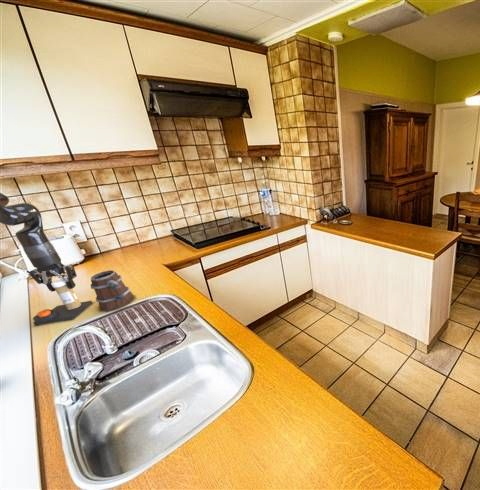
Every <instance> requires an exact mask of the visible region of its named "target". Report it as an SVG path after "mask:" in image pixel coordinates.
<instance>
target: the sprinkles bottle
mask: <svg viewBox="0 0 480 490" xmlns="http://www.w3.org/2000/svg"><path fill="white" fill-rule="evenodd" d="M65 282H66V281H64V280H63V279H62V278H58V279H56V280H54V281H52V283H51V285H52V287H53V288H54V289H55V290H56V291H55V292H56V295H58V297H59V299H60V300H61V302H62V303H63V305H65V306H66V308H67V310H72V309H75V308H78V307H79V306H80V305H81V303H80V302H81V301H80V300H79V298H78V296H77V295H76V293H75V292H74V290H73V289H69V288H68V286H67V284H66V283H65Z"/></svg>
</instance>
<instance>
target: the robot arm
mask: <svg viewBox="0 0 480 490" xmlns="http://www.w3.org/2000/svg"><path fill="white" fill-rule="evenodd" d="M9 203H10V198H9V197H8V196H7V195H5V194H4V193H3V192H0V224H2V225H5V226H9V227H14V226H18V225H22V224H23V228H21V229H19V230H18V231H16V232H15V234H14V235H15V237H16V239H17V241H18V243H19V244H20V245H21V247H22V250H23V252H24V254H25V255H26V257H27V258H28V260H29V262H30V264H31V265H32V266H33V268H34V269H31V270H29V271H28V274H29V275H30V277H31V278H32V279H33V280H34V281H35V283H37V284H38V285H41V284H43V285H45V286H46V287H47V290H49V291H50V292H51V293H53V292H56V290H55V289H54V288H53V287H52V285H51V283H52V282H53V277H57V278H58V279H63V280H64V281H66V282H65V283H66V284H67V286H68V288H69V289H72V290H73V289H74V288H75V287H76V283H75V281H74V279H75V278H76V277H78V274H77V272H76V269H75V266H74V264H69V265H65V264H63V263H62V259H61V257H60V255H59V253H58V252H57V250H56V248H55V246H54V245H53V244H52V242H51V241H50V240H49V238H48V236H47V235H46V233H45V230H44V225H43V218H42V214H41V211H40V210H39V208H38V207H37V206H35V205H33V204H31V203H29V202H20V203H16V204H10V205H9Z"/></svg>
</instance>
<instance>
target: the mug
mask: <svg viewBox="0 0 480 490" xmlns="http://www.w3.org/2000/svg"><path fill="white" fill-rule="evenodd" d="M122 280H123V278H122V275H121V274H118V273H117V271H115V270H105V271H104V270H103V271H101V272H98V273H95V274H94V275H92V276H91V277H90V282H91V283H90V289H92V290H94V293H95V295H96V297H95V302H96V303H98V308H99V310H100V311H103V312H110V311H113V310H117V309H120V308H122V307H125V306H126V305H129V304H130V303H132V301H133V300H134V299H135V296H134V295H133V292H132V291H131V290H130V287H129V286H126V285H125V283H124V282H123V281H122Z"/></svg>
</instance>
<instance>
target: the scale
mask: <svg viewBox="0 0 480 490" xmlns="http://www.w3.org/2000/svg"><path fill="white" fill-rule="evenodd" d="M79 302H80V303H81V305H80V306H79V307H78V308H75V309H72V310H67V308H66V306H65V305H64V304H61V305H60V304H58V305H56V306H55V307H54V308H52V309H50V311H51V312H52V313H51V314H49V315H47V316H45V317H40V318H39V317H38V315H37V314H35V315H34V316H33V317H32V320H33V325H34V326H41V325H47V324H55V323H61V322H66V321H73V320H75V318H77V317H78V316H79V315H80V314H81V313H83V312H84V311H85V310H86V309H87V308H89V307H90V306H91V305H92V304H93V301H92V300H86V301H79Z"/></svg>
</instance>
